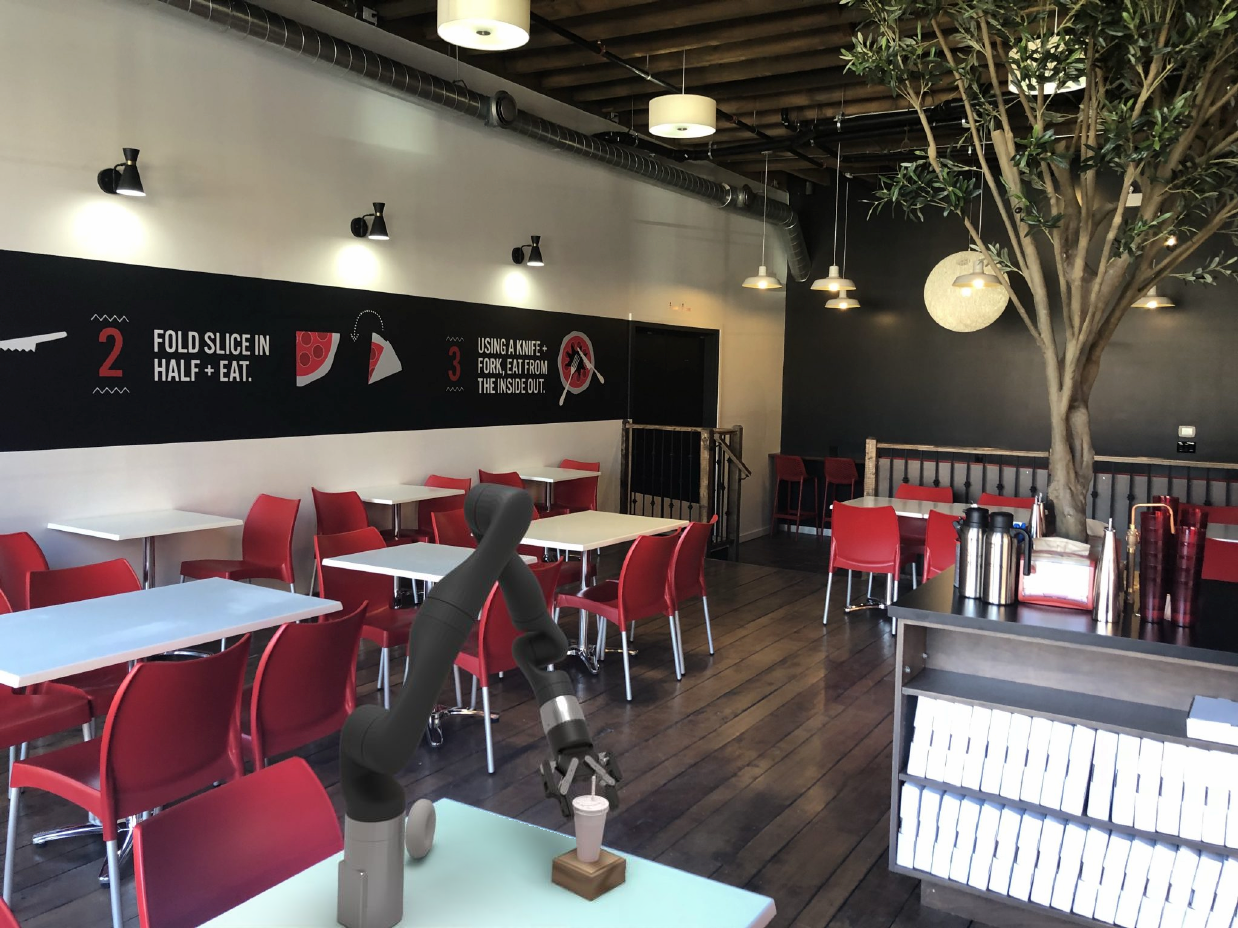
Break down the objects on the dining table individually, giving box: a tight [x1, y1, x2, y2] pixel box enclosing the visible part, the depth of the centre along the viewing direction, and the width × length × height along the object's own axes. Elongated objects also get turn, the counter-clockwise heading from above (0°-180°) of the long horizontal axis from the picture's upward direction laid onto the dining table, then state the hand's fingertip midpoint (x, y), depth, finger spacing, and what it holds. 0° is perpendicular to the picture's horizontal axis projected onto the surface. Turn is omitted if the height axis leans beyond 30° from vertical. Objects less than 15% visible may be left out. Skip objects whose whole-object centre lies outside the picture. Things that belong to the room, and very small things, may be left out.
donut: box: [405, 798, 437, 859], centre depth 169 cm, size 10×4×10 cm, turn 174°
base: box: [550, 846, 627, 902], centre depth 162 cm, size 9×9×4 cm
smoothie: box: [571, 776, 610, 862], centre depth 162 cm, size 6×6×14 cm
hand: (593, 813), depth 161 cm, fingers open, 8 cm apart
